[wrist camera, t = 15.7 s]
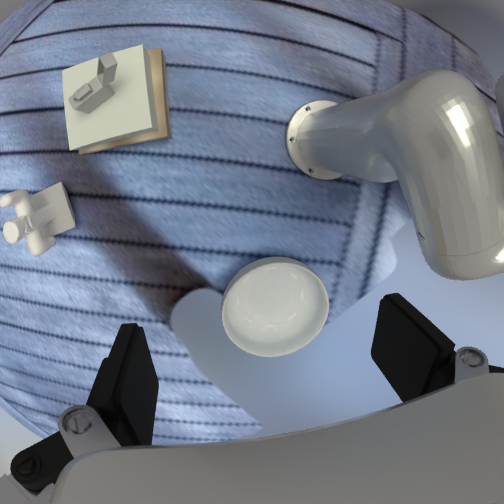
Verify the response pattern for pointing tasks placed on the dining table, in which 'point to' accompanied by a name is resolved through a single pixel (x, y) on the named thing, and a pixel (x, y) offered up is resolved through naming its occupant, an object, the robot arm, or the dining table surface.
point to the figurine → (38, 217)
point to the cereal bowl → (274, 306)
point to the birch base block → (160, 101)
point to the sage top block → (112, 101)
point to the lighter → (96, 86)
